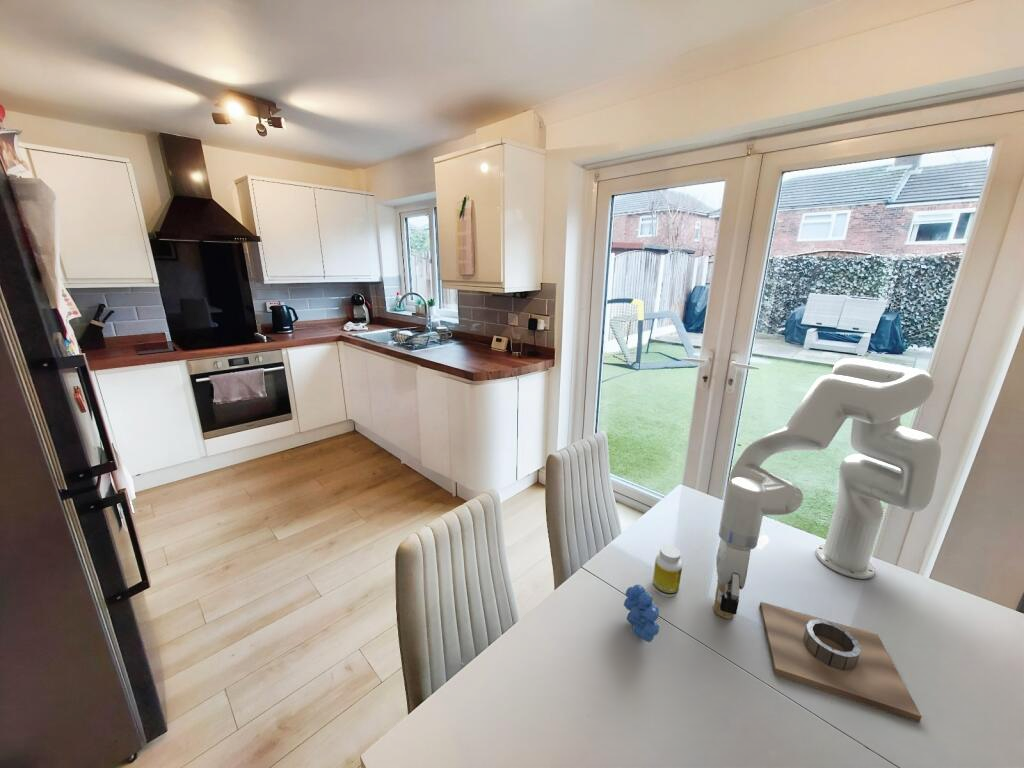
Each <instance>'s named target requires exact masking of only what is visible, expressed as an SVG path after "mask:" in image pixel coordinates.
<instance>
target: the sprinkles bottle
mask: <svg viewBox="0 0 1024 768" xmlns="http://www.w3.org/2000/svg"><path fill="white" fill-rule="evenodd" d="M717 581H718V580H717ZM728 583H730V584H731V581H729V582H728ZM715 589H716V590H715V593H714V595H715V596H714V603H713V606H712V607H713V611H714V612H715V613H716V614H717V615H719V617H721V618H725V619H732V618H734V617H735V615H734V614H731V613H727V612H724V611H721V610H720V604H721V599H722V594H724V589H725V585H721V584H720V583H719V581H718V582H717V584H716V588H715ZM728 592H730V593H731V587H729V586H728Z"/></svg>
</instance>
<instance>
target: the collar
mask: <svg viewBox="0 0 1024 768" xmlns="http://www.w3.org/2000/svg"><path fill="white" fill-rule="evenodd" d="M822 619H823V618H821V619H815V620H810V621H809V622H808V624H807V625H806V629H805V632H804V636H803V641H804V644H805V647H806V648H807V649H808V651H809V652H810V653H811V654H812V655H813V656H814V657H816V659H818V660H819V661H821V662H823V663H824V664H826V665H827V666H830V667H832V668H835V669H838V670H842V671H848V670H853V669H854V668H855V666H856V664H857V662H858V659H859V656H860V652H861V647H860V645H859V643H858V641H857V640H856V639H855V638H854V637H853V636H852V635H851V634H850V633H849V632H848V631H846V630H845V629H843V628H842V627H840V626H838V625H836V624H834V623H832V622H833V621H832V622H829V621H830V620H828V621H825V620H826V619H825V620H822ZM816 636H821V637H824V638H827V639H830V640H832V641H833V642H835V643H837V644H839V645H840V646H841V647H842V648H843V649H844V650H845V651H846V652H841V651H838V650H835V649H832V648H831V647H829V646H827V645H826V644H824V643H822V642H821V641H820V640H819V639H818V638H817V637H816Z"/></svg>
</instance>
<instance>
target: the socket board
mask: <svg viewBox="0 0 1024 768" xmlns="http://www.w3.org/2000/svg"><path fill="white" fill-rule="evenodd" d="M758 607H759V612H760V616H761V620H762V624H763V628H764V634H765V637H766V638H765V639H766V643H767V647H768V648H767V649H768V652H769V656H770V657H769V658H770V662H771V666H772V670H773V675H776V676H779V677H782V678H785V679H789V680H791V681H793V682H797V683H800V684H803V685H805V686H810V687H812V688H814V689H818V690H821V691H823V692H826V693H829V694H833V695H836V696H839V697H842V698H845V699H848V700H851V701H854V702H856V703H860V704H863V705H865V706H869V707H872V708H873V709H877V710H880V711H884V712H886V713H890V714H892V715H895V716H898V717H902V718H905V719H907V720H911V721H914V722H917V723H920V722H921V719H922V714H921V713H920V711H919V709H918V707H917V705H916V703H915V701H914V699H913V697H912V696H911V694H910V692H909V690H908V688H907V686H906V684H905V683H904V681H903V678H902V677H901V674H900V673H899V670H897V669H898V668H897V667H896V666H895V664H894V662H893V660H892V658H891V656H890V654H889V652H888V651H887V648H886V647H885V645H884V644H883V642H882V639H881V637H880V636H879V634H878V633H874V632H871V631H867V630H863V629H860V628H857V627H852V626H849V625H845V624H842V623H839V622H836V621H831V620H828V619H825V618H821V617H817V616H813V615H810V614H808V613H807V614H806V613H802V612H800V611H795V610H791V609H788V608H784V607H781V606H777V605H774V604H770V603H766V602H763V601H760V602H759V606H758ZM815 619H822V620H825V621H829V622H832V623H834V624H836V625H838V626H840V627H842V628H843V629H845V630H846V631H848V632H849V633H850V634H851V635H852V636H853V637H854V638H855V639H856V640H857V641H858V643H859V645H860V647H861V652H860V656H859V659H858V662H857V664H856V666H855V668H854V669H853V670H848V671H842V670H838V669H835V668H832V667H830V666H827V665H826V664H824V663H823V662H821V661H819V660H818V659H816V657H814V656H813V655H812V654H811V653H810V652H809V651H808V649H807V648H806V647H805V644H804V641H803V636H804V632H805V629H806V625H807V624H808V622H809V621H810V620H815ZM816 637H817V638H818V639H819V640H820V641H821V642H822V643H824V644H826V645H827V646H829V647H831V648H832V649H835V650H838V651H841V652H846V651H845V650H844V649H843V648H842V647H841V646H840V645H839V644H837V643H835V642H833V641H832V640H830V639H827V638H824V637H821V636H816Z"/></svg>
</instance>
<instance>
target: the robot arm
mask: <svg viewBox="0 0 1024 768" xmlns="http://www.w3.org/2000/svg"><path fill="white" fill-rule="evenodd" d="M934 386H935V385H934V379H933V378H932V376H931V375H930V374H929V373H928V372H927V371H925V370H922V369H919V368H914V367H913V368H912V367H907V366H903V365H896V364H890V363H885V362H880V361H874V360H868V359H862V358H856V357H855V358H850V357H849V358H848V357H847V358H843V359H840V360H838V361H837V362H836V363H835V364H834V366H833V368H832V374H826V375H822V376H820V377H819V378H817V379H816V380H815V382H814V383H813V384H812V386H811V387H810V389H809V390H808V392H807V393H806V395H805V396H804V398H803V399H802V401H801V402H800V403H799V406H798V407H797V408H796V410H795V411H794V413H793V414H792V416H791V418H790V419H789V420H788V422H787V423H786V424H785V426H783V428H780V429H777V430H776V431H773V432H770V433H767V434H766V435H764V436H762V437H760V438H758V439H757V440H755V441H753V442H751V443H750V444H749V445H748V446H747V447H746V448H745V449H744V450H743V452H742V453H741V455H740V457H739V458H738V459H737V461H736V463H735V464H734V466H733V468H732V470H731V471H730V475H729V480H728V482H727V484H726V487H725V495H724V498H723V504H722V510H721V511H722V512H721V519H720V523H719V529H718V537H719V538H720V539H719V543H718V548H717V552H716V556H715V561H716V562H715V563H716V574H717V581H716V582H717V583H718V581H719V583H720V584H721V585H725V589H724V594H722V599H721V604H720V610H721V611H724V612H727V613H731V614H734V616H735V615H737V612H738V607H739V603H740V590H743V589H744V587H745V584H746V580H747V576H748V575H747V574H748V570H749V563H750V556H751V550H754V549H755V548H757V546H758V543H759V542H758V540H759V536H760V533H761V526H762V522H763V517H764V516H785V515H790V514H792V513H794V512H796V511H797V510H798V509H799V508H801V506H802V504H803V500H804V496H803V492H802V490H801V489H800V488H799V487H798V486H797V485H796V484H794V483H793V482H791V481H788V480H787V479H785V478H782V477H780V476H778V475H776V474H774V473H772V472H770V471H768V470H766V469H764V468H763V467H762V465H763V463H764V462H765V461H766V460H767V459H769V458H770V457H772V456H773V455H776V454H779V453H783V452H789V451H791V452H792V451H822V450H826V449H827V448H828V447H829V445H830V444H831V442H832V441H833V439H834V438H835V437H836V434H837V433H838V432H839V430H840V429H841V427H842V426H843V425H844V423H845V421H846V420H847V419H852V423H851V433H850V445H851V448H852V449H853V450H854V452H856V453H855V454H850V455H848V456H846V457H844V459H843V460H842V461H841V463H840V466H839V471H838V491H837V496H836V499H835V500H836V501H835V504H834V507H833V513H832V517H831V520H830V524H829V526H828V527H829V528H828V532H827V536H826V540H825V544H820V545H818V546H817V547H816V549H815V555H816V557H817V559H818V560H819V561H820V562H821V563H822V564H823V565H825V566H826V567H827V568H829V569H830V570H833V571H834V572H837V573H839V574H841V575H843V576H846V577H850V578H853V579H860V580H861V579H862V580H863V579H864V580H867V579H871V578H872V577H874V575H875V573H876V568H875V567H874V565H873V563H872V562H871V561H870V560H871V557H872V553H873V550H874V547H875V544H876V540H877V536H878V534H879V530H880V528H881V524H882V521H883V516H884V509H883V505H882V503H881V502H884V503H885V504H888V505H891V506H893V507H894V508H898V509H899V510H902V511H906V512H909V513H916V512H917V513H918V512H921V511H923V510H925V509H926V508H928V506H929V504H930V503H931V500H932V498H933V495H934V491H935V487H936V481H937V475H938V473H939V472H938V471H939V467H940V462H941V457H942V456H941V454H942V447H941V444H940V442H939V441H938V439H936V437H934V436H933V435H931V434H929V433H926V432H924V431H921V430H920V431H919V430H916V429H914V428H913V429H912V428H909V427H906V426H903V425H902V424H901V417H902V416H904V415H905V414H907V413H910V412H912V411H913V410H916V409H918V408H919V407H920V406H922V405H924V403H926V401H927V400H928V399H929V398H930V397H931V395H932V393H933V390H934ZM729 581H731V584H730V583H728V582H729ZM728 586H729V587H731V593H730V592H728Z"/></svg>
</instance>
